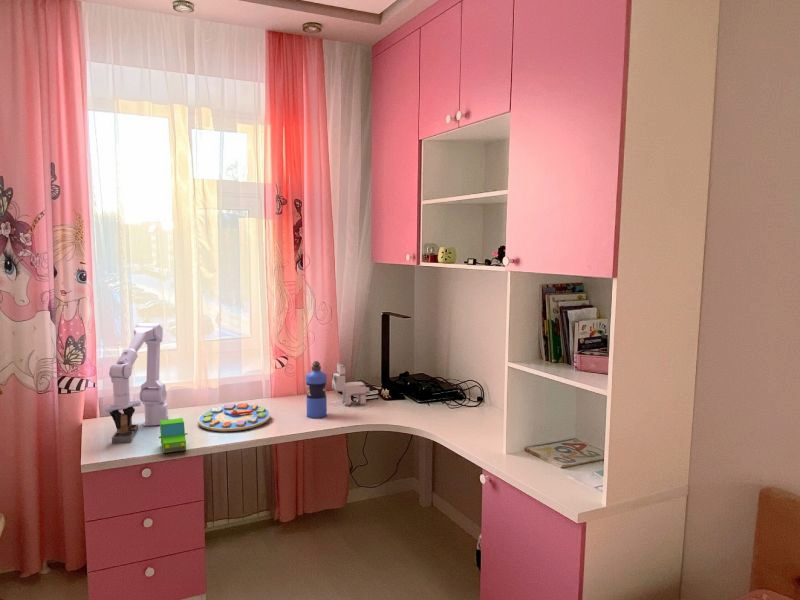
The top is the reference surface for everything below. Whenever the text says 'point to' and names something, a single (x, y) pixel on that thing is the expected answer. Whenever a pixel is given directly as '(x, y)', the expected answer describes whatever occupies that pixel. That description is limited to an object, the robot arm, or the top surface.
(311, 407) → the water bottle
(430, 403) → the top surface
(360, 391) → the toy llama
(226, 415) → the shape sorting clock
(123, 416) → the wooden block with lid
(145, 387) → the robot arm
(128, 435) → the grey compartment box
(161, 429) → the toy car
